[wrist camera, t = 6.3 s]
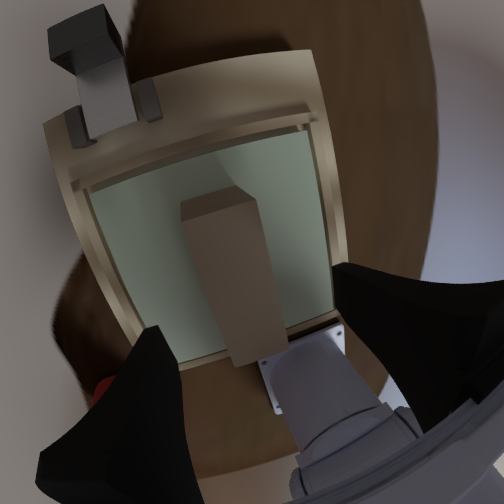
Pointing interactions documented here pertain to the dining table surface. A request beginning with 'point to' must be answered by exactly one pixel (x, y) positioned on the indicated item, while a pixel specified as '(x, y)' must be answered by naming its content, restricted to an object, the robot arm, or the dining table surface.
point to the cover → (223, 247)
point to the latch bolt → (96, 69)
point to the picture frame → (195, 151)
